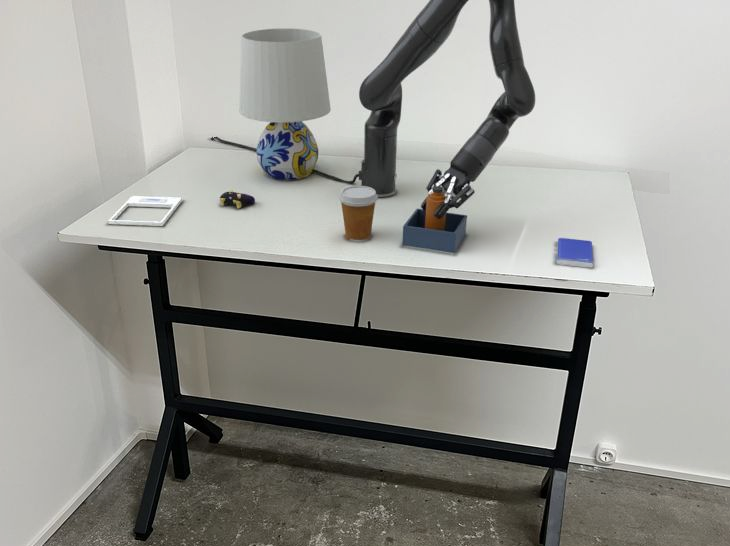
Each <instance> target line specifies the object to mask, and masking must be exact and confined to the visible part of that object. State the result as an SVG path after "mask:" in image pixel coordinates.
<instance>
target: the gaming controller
mask: <svg viewBox="0 0 730 546" xmlns="http://www.w3.org/2000/svg"><path fill="white" fill-rule="evenodd" d="M219 200H220V205H221V206H222V207H223V206H226V204H227V205H233V206H236V209H241V208H243V207H244V206H245V205H246V206H247V205H253V204H254V203H255V201H256V198H255V197H254V196H253V195H250V194H247V193H241V192H236V191H234V190H229V191H225V192H223V193H222V194H221V195H220V197H219Z"/></svg>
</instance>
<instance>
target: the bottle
mask: <svg viewBox="0 0 730 546" xmlns="http://www.w3.org/2000/svg"><path fill="white" fill-rule="evenodd" d="M432 191H433V193H430V195H429V196H428V195H426V197H427V201H426V217H425V228H426V229H433V230H440V231H445V221H446V214H445V215H444V216H443V217H442V218H441V219H437V218H436V217H435V216H434V213H435V211H436V210H437V209H438V208H439V206H440V205H441V204H442V202H443V203H445V202H444V201H445V198H446V196H447V195H445V194H443V193H442V192H443V188H442V186H435V187H434V186H432Z"/></svg>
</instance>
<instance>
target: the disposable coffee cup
mask: <svg viewBox="0 0 730 546" xmlns="http://www.w3.org/2000/svg"><path fill="white" fill-rule="evenodd" d="M378 198H379V197H378V196H377V195H376V191H375V190H374V189H373V188H371V187H367V186H362V185H350V186H346V187H344V188H342V189H341V190H340V194H339V195H338V199H339V201H340V204H341V211H342V217H343V225H344V232H345V238H346V239H347V240H354V241H355V240H356V241H363V240H367V239H369V238H370V237H371V235H372V229H373V228H372V227H373V222H374V221H373V219H374V214H375V207H376V202H377V199H378Z"/></svg>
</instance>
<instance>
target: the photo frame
mask: <svg viewBox="0 0 730 546" xmlns="http://www.w3.org/2000/svg"><path fill="white" fill-rule="evenodd" d="M182 202H183V197H177V196H175V197H172V196H170V197H169V196H141V195H131V196H130V197H129V198H128V199H127V200H126V202H124V204H122V205H121V206H120V207H119V209H117V210H116V211H115V213H114V214H113V215H111V217H110V218H109V219H108V220H107V223H108V225H121V226H123V225H124V226H125V225H126V226H151V227H153V226H154V227H164V225H165V224H166V222H167V221H168V220H169V218H170V217H171V216H172V215H173V213H174V212H175V211H176V210H177V208H178V207H179V206H180V204H181V203H182ZM128 207H139V208H166V209H167V208H169V210H168V212H167V213H166V214H165V215H164V216H163V218H162V219H161V220H160V221H158V220H157V221H155V220H154V221H153V220H129V219H127V220H126V219H118V217H119V216H120V215H121V214H122V213H123V212H124V211H125V210H126V209H127V208H128Z"/></svg>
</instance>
